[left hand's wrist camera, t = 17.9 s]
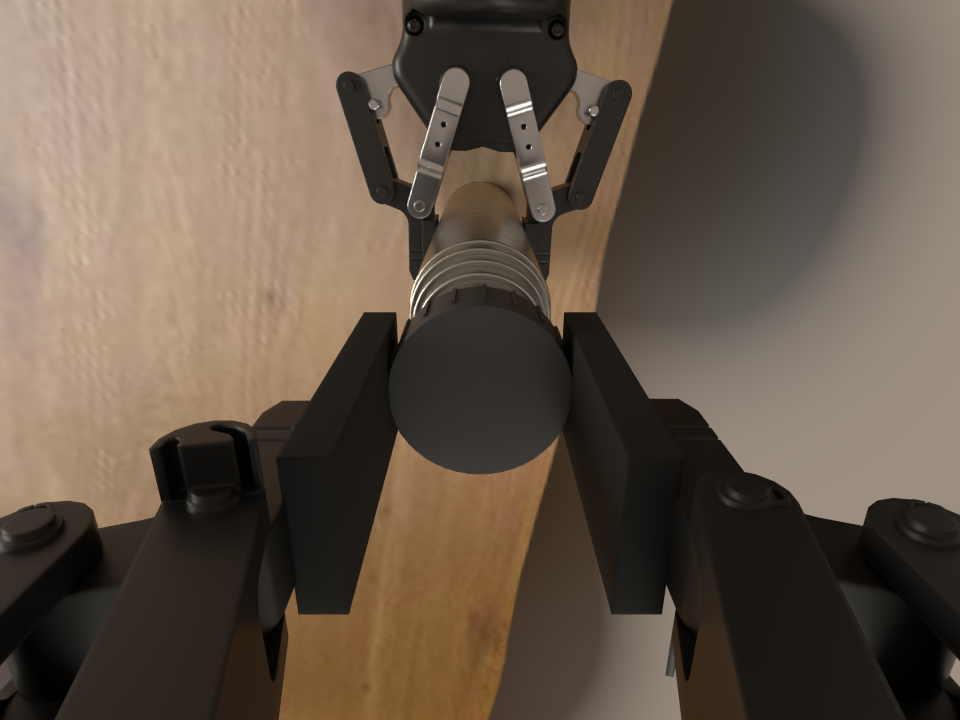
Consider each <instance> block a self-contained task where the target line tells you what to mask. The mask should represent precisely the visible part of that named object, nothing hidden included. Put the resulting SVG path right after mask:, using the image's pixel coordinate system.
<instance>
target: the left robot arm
mask: <svg viewBox="0 0 960 720" xmlns="http://www.w3.org/2000/svg"><path fill="white" fill-rule="evenodd" d="M397 343H398V336H397V318H396V312H364V314H363V315H362V317H361V318H360V320H359V322H358V323H357V325H356V327H355V328H354V330H353V332H352V333H351V335H350V336H349V338H348V340H347V341H346V343H345V345H344V346H343V348H342V350H341V351H340V353H339V354H338V356H337V358H336V359H335V361H334V363H333V364H332V366H331V368H330V369H329V371H328V372H327V374H326V376H325V377H324V379H323V381H322V382H321V384H320V386H319V387H318V389H317V391H316V392H315V394H314V395H313V397H312V399H311V400H310V401H281V402H280V403H278V404H276V405H275V406H273V407H271V408H270V409H268V410H267V411H265V412H263V413H262V414H261V416H260V417H259V418H258V420H257V421H256V422H255V424H254V425H253V426H252V427H251V426H249V425H248V424H246V423H241V422H237V421H209V422H203V423H197V424H193V425H190V426H187V427H184V428H180V429H177V430H175V431H173V432H171V433H169V434H167V435H165V436H164V437H162V438H160V439H158V440H157V441H156V442H155V443H154V444H153V445H152V446H151V447H150V448H149V451H150V455H151V460H152V464H153V468H154V472H155V477H156V481H157V485H158V489H159V494H160V498H161V502H162V503H161V505H160V508H159V510H158V512H157V514H156V516H155V517H153V518H149V519H145V520H141V521H135V522H130V523H125V524H120V525H114V526H109V527H104V528H98V526H97V523H96V519H95V516H94V512H93V510H92V509H91V508H89V507H88V506H87V505H86V504H84V503H79V502H73V501H59V502H45V503H40V504H37V505H36V506H34V505H31V506H28V507H24V508H22V509H20V510H18V511H17V512H14V513H12V514H10V515H7V516H5V517H3V518H0V720H279V712H280V703H281V695H282V686H283V678H284V670H285V661H286V653H287V645H288V631H287V624H286V618H285V609H286V606H287V604H288V601H289V599H290V596H291V594H292V591H293V589H294V586H295V593H296V600H297V607H298V614H349V612H350V608H351V604H352V600H353V597H354V593H355V589H356V585H357V582H358V578H359V574H360V570H361V567H362V563H363V559H364V555H365V552H366V548H367V544H368V540H369V537H370V533H371V529H372V525H373V522H374V518H375V514H376V510H377V507H378V503H379V499H380V495H381V492H382V488H383V484H384V480H385V477H386V473H387V469H388V465H389V462H390V458H391V454H392V450H393V447H394V443H395V439H396V435H397V432H398V428H397V427H396V425H395V422H394V420H393V418H392V415H391V412H390V399H389V382H388V375H389V370H390V367H391V364H390V359H391V357H392V354H393V352H394V349H395V346H396V344H397ZM563 343H564V345H562V346H563V349H564V351H565V354H566V357H567V360H568V362H569V366H570V369H571V372H572V389H571V405H570V413H569V416H568V419H567V421H566V423H565V425H564V427H563V429H562V430H563V434H564V438H565V441H566V445H567V449H568V453H569V456H570V460H571V464H572V468H573V471H574V475H575V479H576V483H577V486H578V490H579V494H580V498H581V501H582V505H583V509H584V513H585V516H586V520H587V524H588V528H589V531H590V535H591V539H592V543H593V546H594V550H595V554H596V558H597V561H598V565H599V569H600V573H601V576H602V580H603V584H604V588H605V591H606V595H607V599H608V603H609V606H610V610H611V614H662V610H663V603H664V596H665V589H666V585H667V587H668V590H669V592H670V595H671V597H672V600H673V602H674V605H675V607H676V612H675V618H674V624H673V630H672V637H671V643H670V649H669V656H668V662H667V669H666V676H671V677H673V676H674V671H675V668H676V677H677V685H678V693H679V702H680V710H681V719H682V720H960V687H959V686H958V684H957V683H956V682H955V681H954V680H953V679H952V678H951V677H950V672H951V670H952V667H953V665H954V662H955V660H956V657H957V658H958V659H959V660H960V515H959V514H956V513H954V512H951V511H949V510H946V509H944V508H943V507H942V506H939V505H936V504H933V503H929V502H928V503H925V501H921V500H915V499H899V498H890V499H884V500H878V501H876V502H875V503H873V504H872V505H871V506H870V507H868V510H867V514H866V517H865V521H864V524H863V526H860V525H855V524H850V523H844V522H839V521H834V520H829V519H823V518H818V517H814V516H810V515H806V514H804V513H803V511H802V509H801V507H800V504H799V503H798V501H797V500H796V499H795V498H794V496H793V495H792V494H791V493H790V492H789V491H788V490H787V489H785V488H783V487H782V486H780V485H779V484H777V483H776V482H774V481H772V480H769V479H766V478H764V477H761V476H759V475H756V474H752V473H746V472H744V471H743V470H742V468H741V467H740V466H739V464H738V463H737V462H736V460H735V459H734V458H733V456H732V455H731V454H730V452H729V451H728V450H727V448H726V447H725V446H724V444H723V443H722V442H721V440H718V436H717V435H716V434H715V433H714V431H713V430H712V429H711V428H709V425H708V423H707V422H706V421H705V419H704V418H703V417H702V415H701V414H700V413H699V411H697V410H696V409H694V408H692V407H691V406H689V405H688V404H686V403H684V402H683V401H681V400H679V399H649V398H648V396H647V395H646V393H645V391H644V390H643V388H642V387H641V385H640V383H639V382H638V380H637V378H636V377H635V375H634V374H633V372H632V370H631V369H630V367H629V365H628V364H627V362H626V360H625V359H624V357H623V355H622V354H621V352H620V351H619V349H618V347H617V346H616V344H615V342H614V341H613V339H612V337H611V336H610V334H609V333H608V331H607V329H606V328H605V326H604V324H603V323H602V321H601V319H600V318H599V316H598V315H597V313H596V312H564V325H563Z"/></svg>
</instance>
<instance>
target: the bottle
mask: <svg viewBox="0 0 960 720" xmlns="http://www.w3.org/2000/svg"><path fill="white" fill-rule="evenodd" d="M483 284H487V287H494V288H499V289H504V290H507V291H510V292H512V290H515V291H516V294H517V295H519V296H521V297H523V298H525V299H527V300H528V301H530V302H531V303H533V304H534V305H535V306H537V305H539V306H540V307H541V310H542V312H543V313H544V314H545V315H546V316H547V318H548V319H549V320H550V321H551V302H550V294H549V291H548V287H547V284H546V282H545V279H544V277H543V274H542V272H541V270H540V267H539V265H538V262H537V260H536V257H535V255H534V253H533V250H532V248H531V245H530V243H529V241H528V238H527V236H526V233H525V231H524V228H523V226H522V224H521V221H520V219H519V216H518V214H517V212H516V209H515V207H514V204H513V202H512V200H511V199H510V197H509V196H508V195H507V193H506V192H504V191H503V190H502V189H501V188H499V187H498V186H496V185H493V184H491V183H487V182H474V183H469V184H466V185H464V186H462V187H461V188H459V189H458V190H457V191H456V192H454V194H453V195H452V196H451V197H450V199H449V200H448V202H447V204H446V207H445V209H444V211H443V214H442V216H441V219H440V221H439V224H438V226H437V228H436V231H435V233H434V236H433V238H432V241H431V243H430V245H429V248H428V250H427V253H426V255H425V258H424V260H423V262H422V265H421V267H420V270H419V272H418V275H417V277H416V279H415V282H414V285H413V288H412V291H411V296H410V305H409V310H410V311H409V319H410V320H411V319H412V318H413V317H414V316H415V315H416V313H417V312H418V311H419V310H420V309H422V308H423V307H424V306H425V305H426V302H427V300H429V299H430V300H431V301H432V300H434V299H435V298H437V297H439V296H441V295H443V294H445V293H447V292H451V291H453V288H455V287H457V289H461V288H467V287H478V286H483Z"/></svg>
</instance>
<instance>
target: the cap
mask: <svg viewBox="0 0 960 720" xmlns="http://www.w3.org/2000/svg"><path fill="white" fill-rule="evenodd" d="M562 345H564V343H563V340H562V338H561V335H560V333H559V330H558V328H557V326H555V327H554V326H553V325H552V323H551V321H550V320H549V319H548V318H547V316H546V315H545V314H544V313H543V312H542V310H541V307H540V306H539V305H537V306H535V305H534V304H533V303H531V302H530V301H528V300H527V299H525V298H523V297H521V296H519V295H517V294H516V291H515V290H512V292H510V291H507V290H504V289H499V288H494V287H487V284H483V286H478V287H467V288H461V289H457V287H455V288H453V291H451V292H447V293H445V294H443V295H441V296H439V297H437V298H435V299H434V300H432V301H431V300H430V299H429V300H427V302H426V305H425V306H424V307H423V308H422V309H420V310H419V311H418V312H417V313H416V315H415V316H414V317H413V318H412V319H411V320H410V319H408V320H407V322H406V325H405V327H404V330H403V333H402V336H401V339H400V342H399V344H398V343H397V344H396V346H395V349H394V352H393V354H392V357H391V359H390V364H391V367H390V370H389V375H388V382H389V399H390V412H391V415H392V418H393V420H394V422H395V425H396V427H397V428H398V430H399V431H400V433H401V435H402V436H403V437H404V439H405V440H406V441H407V442H408V444H409V445H410V446H411V447H413V448H414V449H415V450H416V451H417V452H418V453H419V454H421V455H422V456H423V457H425V458H426V459H428V460H430V461H431V462H433V463H435V464H437V465H439V466H442V467H444V468H446V469H450V470H453V471H456V472H462V473H468V474H492V473H499V472H504V471H507V470H511V469H514V468H516V467H519V466H521V465H524V464H525V463H527V462H529V461H531V460H533V459H534V458H536V457H537V456H538V455H540V454H541V453H542V452H544V451H545V450H546V449H547V448H548V447H549V446H550V445H551V444H552V443H553V441H554V440H555V439H556V438H557V437H558V435H559V434H560V432H561V430H562V429H563V427H564V425H565V423H566V421H567V419H568V416H569V413H570V405H571V389H572V372H571V369H570V366H569V362H568V360H567V357H566V354H565V351H564V349H563V346H562Z"/></svg>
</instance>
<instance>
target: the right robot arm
mask: <svg viewBox="0 0 960 720" xmlns="http://www.w3.org/2000/svg"><path fill="white" fill-rule="evenodd" d="M402 4H403V32H402V38H401V41H400V44H399V47H398V49H397V51H396V53H395V55H394V58H393V63H392V64H391V65H388V66H384V67H381V68H378V69H374V70H371V71H367V72H364V73H361V74H356V73H353V72H344V73H342V74H341V75H340V76H339V77H338V79H337V81H336V89H337V92H338V95H339V98H340V101H341V105H342V108H343V111H344V114H345V117H346V120H347V123H348V126H349V130H350V133H351V136H352V139H353V142H354V145H355V148H356V151H357V155H358V158H359V161H360V164H361V167H362V170H363V173H364V176H365V180H366V183H367V186H368V189H369V192H370V195H371V197H372V199H373V200H374V201H375V202H377V203H379V204H386V205H389V206H391V207H394V208H396V209H399V210H401V211H402V212H403V213H404V214H405V215H406V217H407V219H408V223H409V270H410V273H411V275H412V278H413V280H415V279H416V277H417V275H418V272H419V270H420V267H421V265H422V262H423V260H424V258H425V255H426V253H427V250H428V248H429V245H430V243H431V241H432V238H433V236H434V233H435V231H436V228H437V226H438V224H439V215H437V214H435V202H436V199H437V195H438V192H439V189H440V186H441V183H442V179H443V176H444V173H445V170H446V167H447V164H448V161H449V158H450V155H451V151H452V150H456V151H467V150H471V149H475V148H479V147H486V148H490V149H493V150H496V151H499V152H513V153H514V157H515V160H516V164H517V168H518V171H519V175H520V179H521V182H522V186H523V190H524V194H525V198H526V202H527V212H526V217H522V226H523V228H524V231H525V233H526V236H527V238H528V241H529V243H530V245H531V248H532V250H533V253H534V255H535V257H536V260H537V262H538V265H539V267H540V270H541V272H542V274H543V277H544V279H545V281H546V279H547V277H548V275H549V262H550V249H551V234H552V225H553V223H554V221H555V219H556V218H557V217H558V216H560V215H561V214H564V213H567V212H570V211H573V210H576V209H577V210H583V209H586V208H587V207H589V206H590V205H591V203H592V201H593V198H594V196H595V193H596V190H597V188H598V185H599V182H600V180H601V177H602V174H603V172H604V169H605V166H606V164H607V161H608V158H609V156H610V153H611V150H612V148H613V145H614V142H615V140H616V137H617V134H618V132H619V129H620V126H621V124H622V121H623V119H624V116H625V113H626V111H627V108H628V105H629V103H630V100H631V97H632V89H631V87H630V85H629V84H628V83H627V82H626V81H623V80H614V81H609V80H606V79H603V78H600V77H597V76H595V75H592V74H589V73H586V72H583V71H581V70H578V69H577V63H576V60H575V57H574V55H573V53H572V50H571V47H570V42H569V20H570V6H571V0H402ZM397 87H400V89H401V90H402V92H403V93H404V95H405V96H406V98H407V99H408V101H409V102H410V104H411V105H412V107H413V108H414V110H415V111H416V113H417V114H418V116H419V117H420V119H421V120H422V122H423V123H424V125H425V126H426V128H427V129H428V132H427V135H426V138H425V142H424V145H423V149H422V152H421V155H420V159H419V163H418V168H417V172H416V175H415V179H414V182H413V184H410V183H408V182H405V181H403V180H400V179H399V177H398V174H397V171H396V167H395V164H394V161H393V157H392V154H391V151H390V147H389V144H388V141H387V137H386V134H385V131H384V127H383V124H382V121H381V119H383V118H385V117H387V116H388V115H389V113H390V111H391V95H392V92H393V91H394V90H395V89H396V88H397ZM569 92H571V93H573V94H574V96H575V97H576V100H577V108H576V116H577V119H578V120H579V121H580V122H581V123H583V124H585V127H584V130H583V133H582V136H581V138H580V141H579V144H578V147H577V150H576V152H575V155H574V158H573V161H572V164H571V166H570V169H569V172H568V175H567V178H566V181H565V183H564V184H561V185H558V186H555V187H552V188H551V186H550V182H549V177H548V173H547V166H546V161H545V157H544V152H543V148H542V144H541V140H540V136H539V132H540V130H541V129H542V128H543V126H544V125H545V124H546V122H547V121H548V120H549V118H550V117H551V116H552V114H553V113H554V112H555V110H556V109H557V107H558V106H559V105H560V103H561V102H562V101H563V99H564V98H565V97H566V95H567V94H568V93H569Z"/></svg>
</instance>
